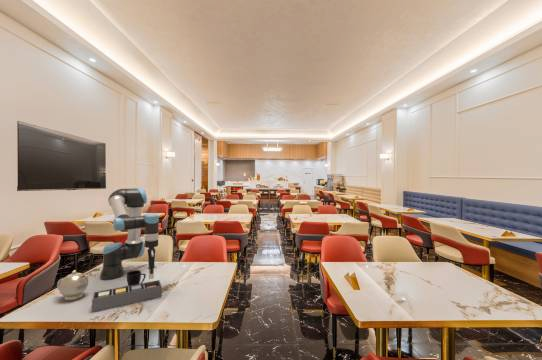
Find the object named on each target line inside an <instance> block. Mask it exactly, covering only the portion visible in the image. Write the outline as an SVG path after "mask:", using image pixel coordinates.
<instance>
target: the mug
mask: <svg viewBox="0 0 542 360" xmlns="http://www.w3.org/2000/svg"><path fill="white" fill-rule="evenodd" d="M142 276H143V277H142ZM146 276H147V275H146V273H142V271H141V270H130V271H129V272H127V273H126V282H127V286H130V285H136V284H141V283H144V281H145V280H146ZM141 277H142V281H141Z"/></svg>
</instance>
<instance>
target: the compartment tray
mask: <svg viewBox="0 0 542 360" xmlns="http://www.w3.org/2000/svg"><path fill="white" fill-rule="evenodd" d="M140 283H141V282H140ZM140 283H139V284H136V285H130V286H128V285H126V286H122V287H116V288H111V289H105V290H104V289H103V290H99V291H94V292H93V294H92V298H91V299H92V300H91V312H92V313H96V312H100V311H105V310H111V309H114V308H119V307H122V306H128V305H131V304H137V303H142V302H145V301H150V300H154V299H155V300H156V299H160V298H162V297H163V296H162V293H163V291H162V290H163V289H162V287H163V285H162V284H161V281H160V279H158V280H153V281H148V282H147V281H146V282H143V283H141V284H140ZM137 285H141V287H142V289H140V290H135V291H131V287H132V286H137ZM154 285H156V286H155V287H150V288H146V287H149V286H154ZM122 288H126V292H125V293H120V294H116V289H122ZM106 291H109V296H105V297H100V298H98V295H99V293H101V292H106Z"/></svg>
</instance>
